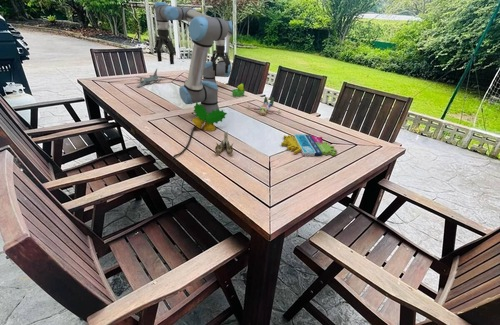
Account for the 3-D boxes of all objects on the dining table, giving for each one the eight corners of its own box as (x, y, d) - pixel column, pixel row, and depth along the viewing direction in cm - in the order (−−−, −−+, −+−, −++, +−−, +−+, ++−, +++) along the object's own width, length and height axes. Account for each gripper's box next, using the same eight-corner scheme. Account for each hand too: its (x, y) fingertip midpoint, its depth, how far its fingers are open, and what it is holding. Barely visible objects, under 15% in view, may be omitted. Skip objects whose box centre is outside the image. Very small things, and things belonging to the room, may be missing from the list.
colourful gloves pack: (340, 153, 140) (285, 152, 138) (339, 156, 141) (285, 155, 138) (325, 134, 163) (277, 133, 160) (324, 137, 163) (277, 136, 161)
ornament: (218, 133, 171) (224, 110, 169) (221, 134, 163) (227, 111, 161) (186, 125, 162) (192, 101, 160) (189, 126, 155) (195, 101, 153)
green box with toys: (239, 93, 243) (239, 81, 238) (246, 95, 239) (247, 83, 233) (231, 95, 235) (231, 83, 229) (238, 97, 231) (239, 84, 225)
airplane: (130, 79, 264) (128, 69, 259) (162, 77, 277) (161, 68, 272) (135, 89, 236) (133, 78, 230) (170, 87, 249) (169, 76, 244)
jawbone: (234, 135, 144) (233, 125, 135) (233, 160, 138) (232, 151, 129) (217, 135, 144) (216, 125, 135) (216, 160, 138) (214, 150, 129)
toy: (286, 98, 212) (281, 108, 186) (285, 107, 216) (280, 118, 190) (253, 94, 217) (244, 103, 191) (252, 103, 221) (243, 112, 195)
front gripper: (146, 27, 177) (150, 60, 188) (170, 30, 165) (172, 65, 175) (156, 27, 183) (159, 59, 193) (179, 30, 170) (181, 64, 180)
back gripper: (206, 43, 218) (206, 69, 229) (229, 47, 207) (229, 74, 218) (212, 43, 224) (212, 68, 235) (235, 46, 212) (234, 73, 223)
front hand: (165, 62), depth 184 cm, fingers open, 13 cm apart
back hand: (220, 71), depth 226 cm, fingers open, 13 cm apart
